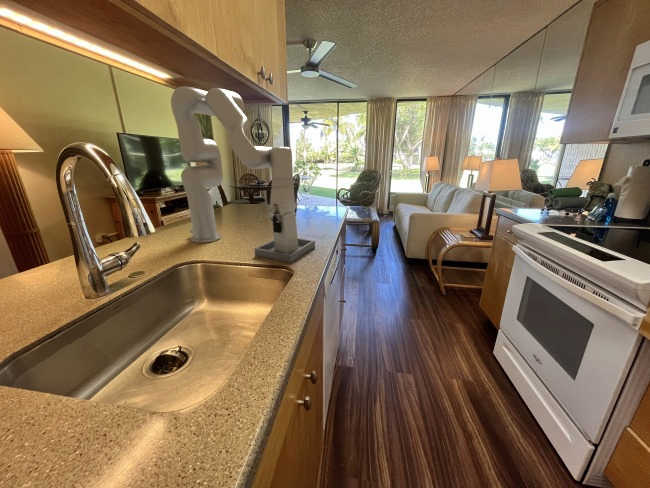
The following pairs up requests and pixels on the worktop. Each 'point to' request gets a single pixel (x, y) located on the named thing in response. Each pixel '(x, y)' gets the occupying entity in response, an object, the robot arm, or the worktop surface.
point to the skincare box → (286, 234)
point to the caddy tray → (271, 253)
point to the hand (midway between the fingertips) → (285, 229)
